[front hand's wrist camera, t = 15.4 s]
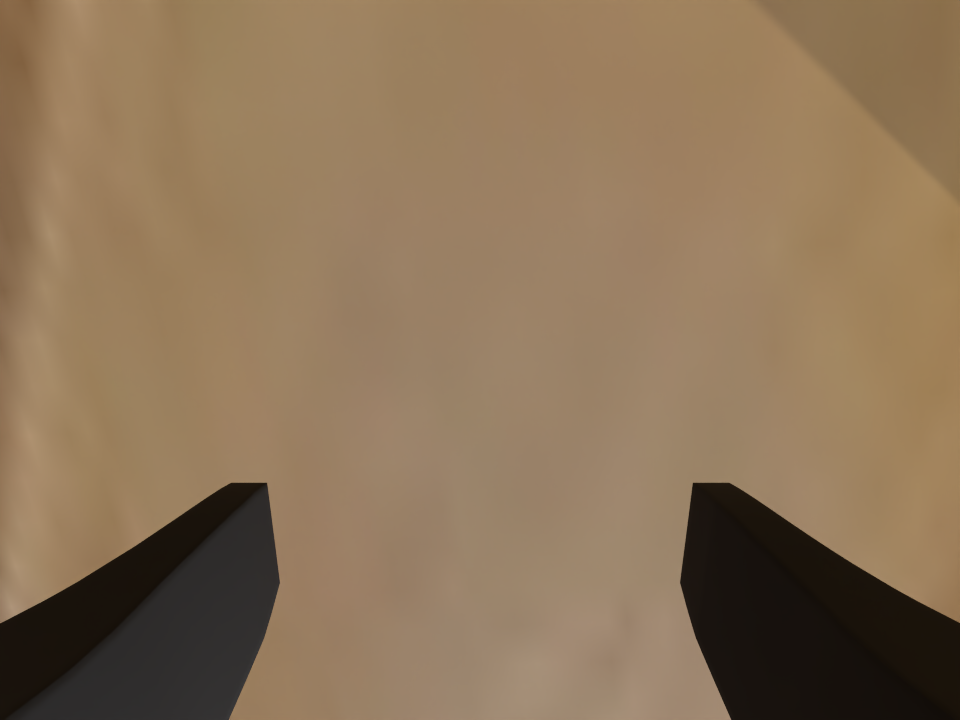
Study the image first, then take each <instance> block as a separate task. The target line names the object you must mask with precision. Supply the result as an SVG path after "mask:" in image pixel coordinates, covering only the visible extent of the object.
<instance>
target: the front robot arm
mask: <svg viewBox="0 0 960 720" xmlns="http://www.w3.org/2000/svg"><path fill="white" fill-rule="evenodd" d="M279 584H280V580H279V572H278V565H277V557H276V549H275V541H274V533H273V526H272V518H271V510H270V502H269V495H268V487H267V483H230V484H228V485H227V486H225V487H223V488H221V489H220V490H218V491H216V492H215V493H213V494H212V495H210V496H209V497H207V498H206V499H204V500H203V501H201V502H200V503H198V504H197V505H195V506H194V507H192V508H191V509H190V510H188V511H187V512H185V513H184V514H182V515H181V516H179V517H178V518H176V519H175V520H173V521H172V522H171V523H169V524H168V525H166V526H165V527H163V528H162V529H160V530H159V531H157V532H156V533H154V534H153V535H151V536H150V537H148V538H147V539H145V540H144V541H142V542H141V543H139V544H138V545H136V546H135V547H133V548H132V549H130V550H128V551H127V552H125V553H124V554H122V555H120V556H119V557H117V558H115V559H114V560H112V561H111V562H109V563H107V564H106V565H104V566H103V567H101V568H99V569H98V570H96V571H95V572H93V573H91V574H90V575H88V576H86V577H85V578H83V579H82V580H80V581H78V582H77V583H75V584H73V585H71V586H70V587H68V588H66V589H65V590H63V591H61V592H59V593H57V594H56V595H54V596H52V597H50V598H48V599H46V600H45V601H43V602H41V603H39V604H37V605H35V606H33V607H31V608H29V609H27V610H26V611H24V612H22V613H20V614H18V615H16V616H14V617H12V618H10V619H8V620H6V621H4V622H2V623H0V720H229V718H230V715H231V713H232V711H233V709H234V706H235V704H236V702H237V700H238V697H239V695H240V693H241V690H242V688H243V686H244V684H245V681H246V679H247V677H248V674H249V672H250V670H251V667H252V665H253V663H254V660H255V658H256V656H257V653H258V651H259V649H260V646H261V644H262V641H263V639H264V636H265V633H266V630H267V626H268V623H269V620H270V616H271V613H272V610H273V606H274V602H275V598H276V595H277V591H278V587H279ZM680 584H681V587H682V591H683V595H684V598H685V602H686V606H687V610H688V613H689V616H690V620H691V623H692V626H693V630H694V633H695V636H696V639H697V641H698V644H699V646H700V649H701V651H702V653H703V656H704V658H705V660H706V663H707V665H708V667H709V670H710V672H711V674H712V677H713V679H714V681H715V684H716V686H717V688H718V690H719V693H720V695H721V697H722V700H723V702H724V704H725V706H726V709H727V711H728V713H729V715H730V718H731V720H960V623H959V622H957V621H955V620H953V619H951V618H949V617H947V616H945V615H943V614H941V613H939V612H937V611H935V610H933V609H931V608H929V607H927V606H926V605H924V604H922V603H920V602H918V601H916V600H914V599H912V598H910V597H909V596H907V595H905V594H903V593H901V592H900V591H898V590H896V589H894V588H893V587H891V586H889V585H887V584H886V583H884V582H882V581H881V580H879V579H877V578H876V577H874V576H872V575H871V574H869V573H867V572H866V571H864V570H862V569H861V568H859V567H857V566H856V565H854V564H852V563H851V562H849V561H848V560H846V559H844V558H843V557H841V556H840V555H838V554H837V553H835V552H833V551H832V550H830V549H829V548H827V547H826V546H824V545H823V544H821V543H820V542H818V541H817V540H815V539H814V538H812V537H811V536H809V535H808V534H806V533H805V532H803V531H802V530H800V529H799V528H797V527H796V526H794V525H793V524H791V523H790V522H788V521H787V520H785V519H784V518H783V517H781V516H780V515H778V514H777V513H775V512H774V511H772V510H771V509H769V508H768V507H766V506H765V505H764V504H762V503H761V502H759V501H758V500H756V499H755V498H753V497H752V496H750V495H749V494H747V493H745V492H744V491H742V490H741V489H739V488H737V487H736V486H734V485H732V484H730V483H693V487H692V495H691V502H690V510H689V518H688V526H687V533H686V541H685V549H684V557H683V565H682V572H681V580H680Z"/></svg>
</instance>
